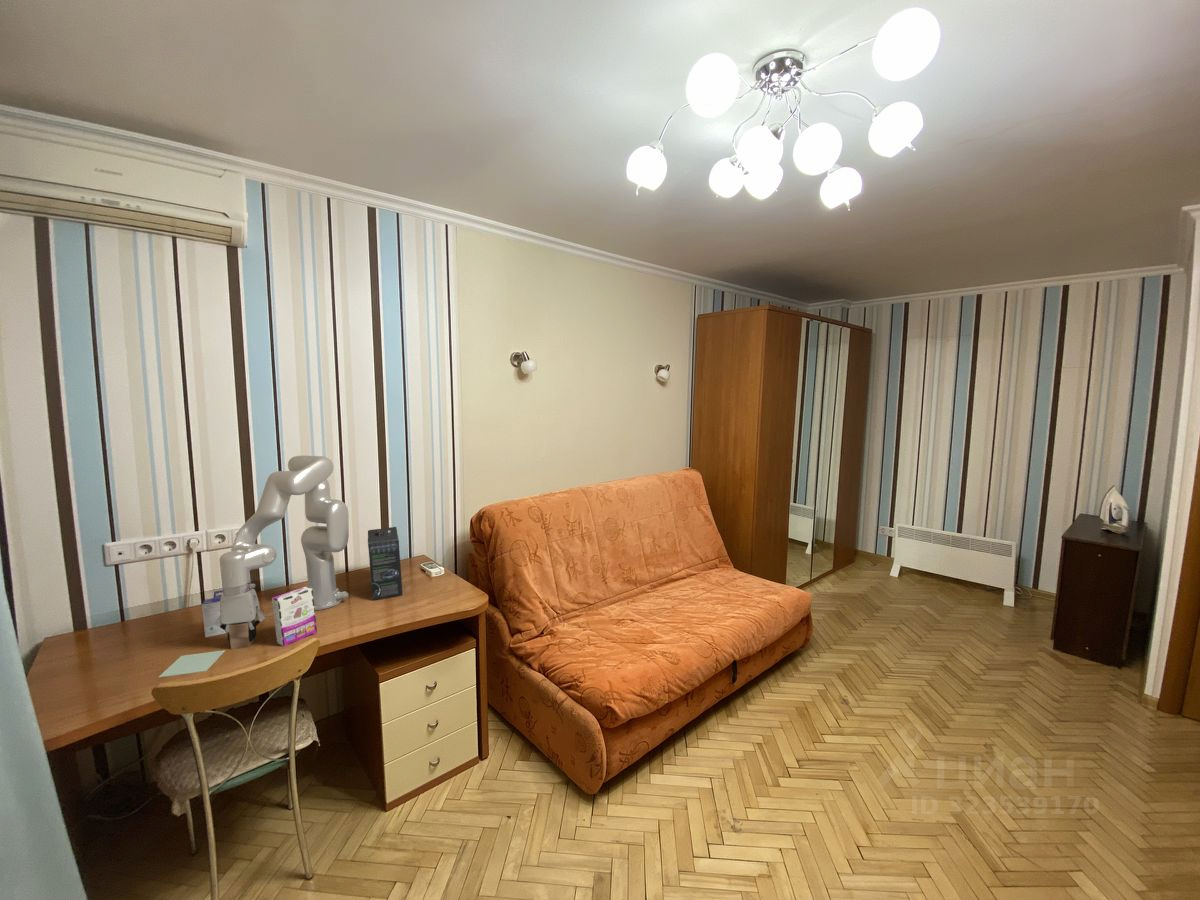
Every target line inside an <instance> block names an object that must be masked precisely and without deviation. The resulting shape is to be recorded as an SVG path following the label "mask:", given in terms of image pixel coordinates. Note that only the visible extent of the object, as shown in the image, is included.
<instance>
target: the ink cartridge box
mask: <svg viewBox="0 0 1200 900" xmlns="http://www.w3.org/2000/svg"><path fill="white" fill-rule="evenodd" d="M220 593H222V594H223V589H221V590H217V591H213V597H211V598H206V599H204V600H203V602H202V603H201V611H202V612H201V613H202V621H203V630H204V638H210V637H214V636H218V635H223V634H227V633H226V632H225V630H223V629H222V628H220V627H219V626H217V625H215V624H214V622H215V621H216V620H217V618H218V617H219V616H220V600H221V595H222V594H220Z"/></svg>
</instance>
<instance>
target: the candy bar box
mask: <svg viewBox="0 0 1200 900" xmlns="http://www.w3.org/2000/svg"><path fill="white" fill-rule="evenodd" d="M271 603H272V611H273V618H274V619H273V620H274V626H275V637H276V643H277V644H279V645H280V646H282V647H286V646H288V645H289V646H290V645H291V644H293V643H296V642H298V641H301V640H302V639H303V640H304V639H306V638H308V637H310V636H313V635H315V634H318V630H317V628H318V627H317V620H316V619H317V618H316V612H315V611H316V610H315V609H314V599H313V590H312V588H309V587H308V585H307V586H302V587H300V588H295V589H293V590H290V591H288V592H284V593H282V594H279V595H275V596H273V597H271Z"/></svg>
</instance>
